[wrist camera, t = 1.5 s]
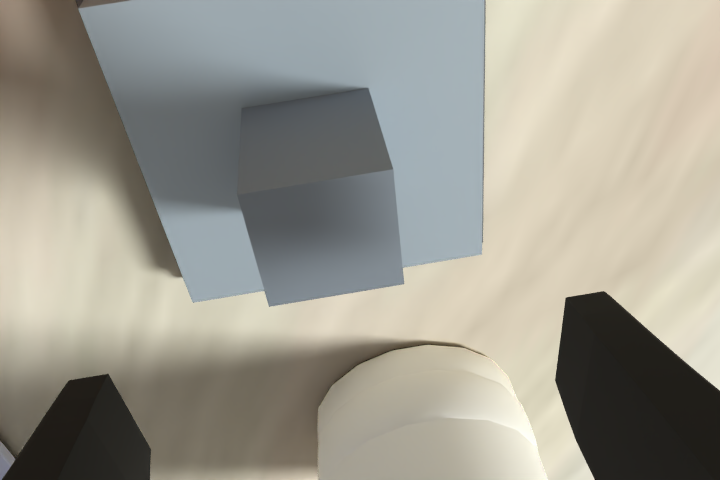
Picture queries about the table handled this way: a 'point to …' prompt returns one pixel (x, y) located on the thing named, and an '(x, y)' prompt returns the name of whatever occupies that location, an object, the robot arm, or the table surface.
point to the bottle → (426, 420)
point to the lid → (301, 135)
